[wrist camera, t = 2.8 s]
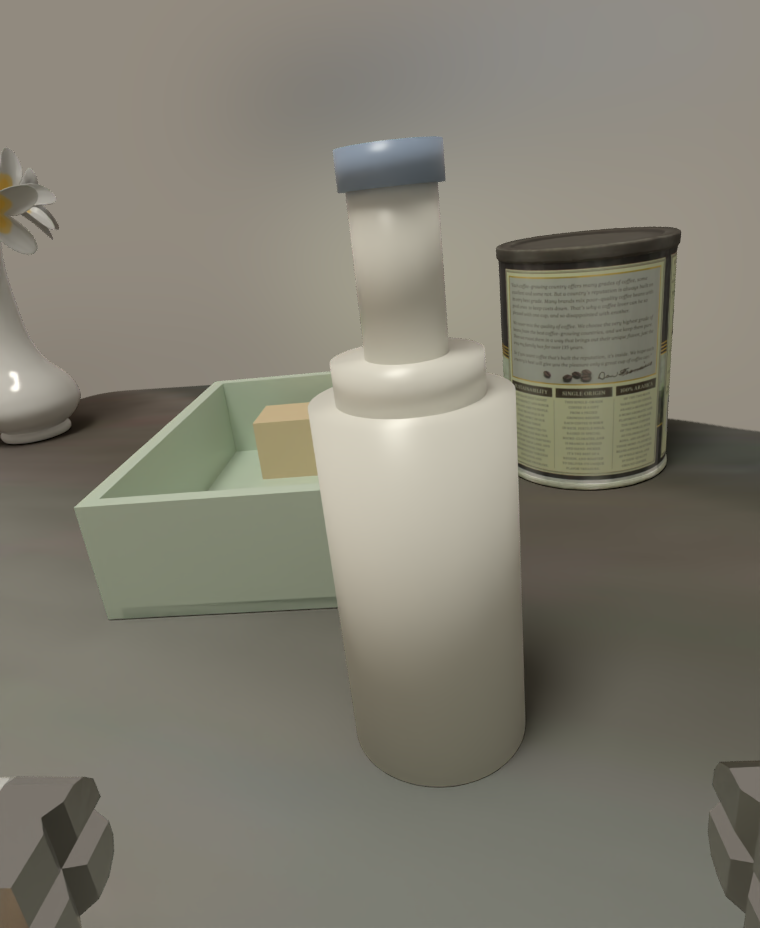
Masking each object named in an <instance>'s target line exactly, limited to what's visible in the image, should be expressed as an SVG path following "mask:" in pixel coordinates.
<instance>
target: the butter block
mask: <svg viewBox="0 0 760 928" xmlns="http://www.w3.org/2000/svg"><path fill="white" fill-rule="evenodd" d="M309 403H310V402H305V403H293V404H282V405H270V406H266V407H265V408H264V409H263V411H262V412H261V413H260V415H259V416H258V417H257V419H256V420H255V421H254V423H253V429H254V434H255V440H256V445H257V450H258V456H259V461H260V466H261V472H262V477H263V479H276V478H290V477H303V476H317V475H318V473H317V467H316V460H315V453H314V447H313V440H312V434H311V427H310V420H309V414H308V405H309Z"/></svg>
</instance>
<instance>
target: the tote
mask: <svg viewBox="0 0 760 928" xmlns="http://www.w3.org/2000/svg"><path fill="white" fill-rule="evenodd" d="M331 387H333V385H332V377H331V371H330V372H319V373H308V374H296V375H286V376H274V377H263V378H251V379H240V380H230V381H218V382H214V383H213V384H212V385H211V386H210V387H209V388H208V389H207V390H205V391H204V392H203V393H202V394H201V395H200V396H199V397H198V398H197V399H195V400H194V401H193V402H192V403H191V404H190V405H189V406H188V407H186V408H185V409H184V410H183V411H182V412H181V413H180V414H179V415H177V416H176V417H175V418H174V419H173V420H172V421H171V422H170V423H168V424H167V425H166V426H165V427H164V428H163V429H162V430H161V431H159V432H158V433H157V434H156V435H155V436H154V437H153V438H152V439H150V440H149V441H148V442H147V443H146V444H145V445H144V446H143V447H142V448H140V449H139V450H138V451H137V452H136V453H135V454H134V455H133V456H131V457H130V458H129V459H128V460H127V461H126V462H125V463H124V464H122V465H121V466H120V467H119V468H118V469H117V470H116V471H115V472H113V473H112V474H111V475H110V476H109V477H108V478H107V479H106V480H104V481H103V482H102V483H101V484H100V485H99V486H98V487H97V488H95V489H94V490H93V491H92V492H91V493H90V494H89V495H88V496H87V497H85V498H84V499H83V500H82V501H81V502H80V503H79V504H78V505H76V506H75V507H74V510H75V513H76V516H77V519H78V523H79V526H80V529H81V532H82V536H83V539H84V542H85V545H86V549H87V552H88V555H89V558H90V562H91V565H92V568H93V571H94V575H95V578H96V581H97V584H98V588H99V591H100V594H101V597H102V601H103V604H104V607H105V610H106V614H107V617H108V620H110V619H129V618H148V617H167V616H185V615H204V614H223V613H242V612H261V611H280V610H298V609H317V608H336V607H338V605H337V598H336V592H335V585H334V578H333V572H332V565H331V559H330V552H329V545H328V539H327V532H326V526H325V519H324V513H323V506H322V499H321V493H320V486H319V480H318V475H317V476H303V477H290V478H276V479H263V477H262V472H261V466H260V461H259V456H258V450H257V445H256V440H255V434H254V429H253V423H254V421H255V420H256V419H257V417H258V416H259V415H260V413H261V412H262V411H263V409H264V408H265V407H266V406H270V405H282V404H293V403H305V402H310V401H311V400H312V399H313V398H314V397H315V396H317V395H318V394H320V393H321V392H323V391H325V390H327V389H329V388H331Z"/></svg>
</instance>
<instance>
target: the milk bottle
mask: <svg viewBox="0 0 760 928" xmlns="http://www.w3.org/2000/svg"><path fill="white" fill-rule="evenodd" d="M333 157H334V166H335V174H336V183H337V191H338V193H346V202H347V210H348V219H349V228H350V235H351V244H352V254H353V262H354V271H355V280H356V288H357V297H358V306H359V314H360V323H361V331H362V340H363V346H361V347H357V348H354V349H351V350H348V351H345V352H343V353H341V354H339V355H337V356H335V357H334V358H333V359H332V360H331V361H330V370H331V377H332V385H333V387H331V388H329V389H327V390H325V391H323V392H321V393H320V394H318V395H317V396H315V397H314V398H313V399H312V400H311V401H310V403H309V405H308V414H309V420H310V427H311V434H312V440H313V447H314V453H315V460H316V467H317V473H318V480H319V486H320V493H321V499H322V506H323V513H324V519H325V526H326V532H327V539H328V545H329V552H330V559H331V565H332V572H333V578H334V585H335V592H336V598H337V605H338V611H339V618H340V624H341V631H342V638H343V644H344V651H345V657H346V664H347V671H348V677H349V684H350V690H351V697H352V703H353V710H354V717H355V723H356V730H357V736H358V740H359V743H360V745H361V747H362V749H363V751H364V753H365V754H366V755H367V757H368V758H369V759H370V760H371V761H372V762H373V763H374V764H375V765H376V766H377V767H378V768H379V769H381V770H382V771H384V772H385V773H387V774H389V775H390V776H392V777H394V778H397V779H399V780H402V781H404V782H408V783H411V784H415V785H421V786H428V787H448V786H457V785H462V784H467V783H470V782H473V781H476V780H479V779H481V778H484V777H486V776H488V775H490V774H492V773H493V772H495V771H497V770H498V769H499V768H501V767H502V766H503V765H504V764H506V763H507V762H508V761H509V760H510V759H511V758H512V756H513V755H514V754H515V752H516V751H517V749H518V748H519V746H520V744H521V742H522V740H523V736H524V732H525V723H526V722H525V688H524V655H523V621H522V587H521V554H520V520H519V486H518V453H517V419H516V389H515V386H514V384H513V383H512V382H511V381H510V380H508V379H506V378H504V377H502V376H499V375H496V374H493V373H489V372H486V363H485V347H484V346H483V345H482V344H481V343H479V342H476V341H473V340H468V339H462V338H448V328H447V313H446V299H445V285H444V284H445V283H444V268H443V254H442V239H441V223H440V210H439V194H438V182H442V181H445V166H444V149H443V138H442V137H436V136H433V137H413V138H401V139H392V140H384V141H375V142H368V143H362V144H356V145H351V146H345V147H341V148H337V149H335V150H333Z"/></svg>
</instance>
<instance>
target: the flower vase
mask: <svg viewBox="0 0 760 928" xmlns="http://www.w3.org/2000/svg"><path fill="white" fill-rule="evenodd" d="M54 202H56V197H55V195H54V193H53V192H52V191H50V190H49V189H47V188H45V187H43V186H41V185H38V181H37V177H36V175H35V173H34V171H33V169H31V168H28V169H27V170H26V172H25V174H24V176H23V178H22V168H21V164H20V162H19V160H18V158H17V156H16V155H15V153H14V152H13V151H12V150H10V149H9V148H4V149H3V150H2V152H1V157H0V433H1V436H0V438H1V440H2V441H3V442H5V443H8V444H25V443H32V442H37V441H41V440H45V439H49V438H52V437H54V436H57V435H60V434H62V433H64V432H66V431H67V430H69V428H70V427H71V420H70V419H68V418H69V417H70V416H71V415H72V414H73V412H74V411H75V410H76V408H77V407H78V405H79V402H80V398H81V394H80V389H79V387H78V385H77V383H76V382H75V380H74V379H73V378H72V377H71V376H70V375H69V374H68V373H67V372H65V371H64V370H63V369H61V368H59V367H58V366H56V365H54V364H53V363H51V362H50V361H48V360H47V359H46V358H45V357H44V355H43V354H42V353H41V352H40V351H39V349H38V348H37V347H36V346H35V344H34V343H33V341H32V340H31V338H30V336H29V334H28V332H27V330H26V328H25V325H24V323H23V320H22V318H21V315H20V313H19V309H18V307H17V304H16V301H15V298H14V295H13V292H12V289H11V286H10V283H9V280H8V277H7V273H6V269H5V264H4V259H3V253H2V244H1V242H3V243H4V244H5V245H7V246H8V247H9V248H11V249H13V250H14V251H17V252H19V253H22V254H27V255H28V254H34V253H35V252H36V250H37V243H36V240H35V239H34V237H33V235H32V234H31V233H30V232H29V231H28V230H27V228H26V227H24V226H23V225H22V224H21V223H19V222H18V221H17V220H15V219H14V218H12V217H10V216H17V215H20V214H21V215H22V216H24V217H26V218H27V219H28V220H30V221H31V222H32V223H34V224H35V225H36V226H37V227H39V228H40V229H41V230H42V231H43V232H44V233H45V234H47V235H48V236H49V237H50V238H51V239H53V237H52V235H51V233H50V231H49V229H51V230H53V229H57V230H58V229H59V226H58V224H57V222H56V220H55V218H54V217H53V216H52V214H51V213H50V212H49V211H48V210H47V209H46V208H45V207H43V206H42V205H49V204H53V203H54ZM8 215H9V216H8ZM48 228H49V229H48Z"/></svg>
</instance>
